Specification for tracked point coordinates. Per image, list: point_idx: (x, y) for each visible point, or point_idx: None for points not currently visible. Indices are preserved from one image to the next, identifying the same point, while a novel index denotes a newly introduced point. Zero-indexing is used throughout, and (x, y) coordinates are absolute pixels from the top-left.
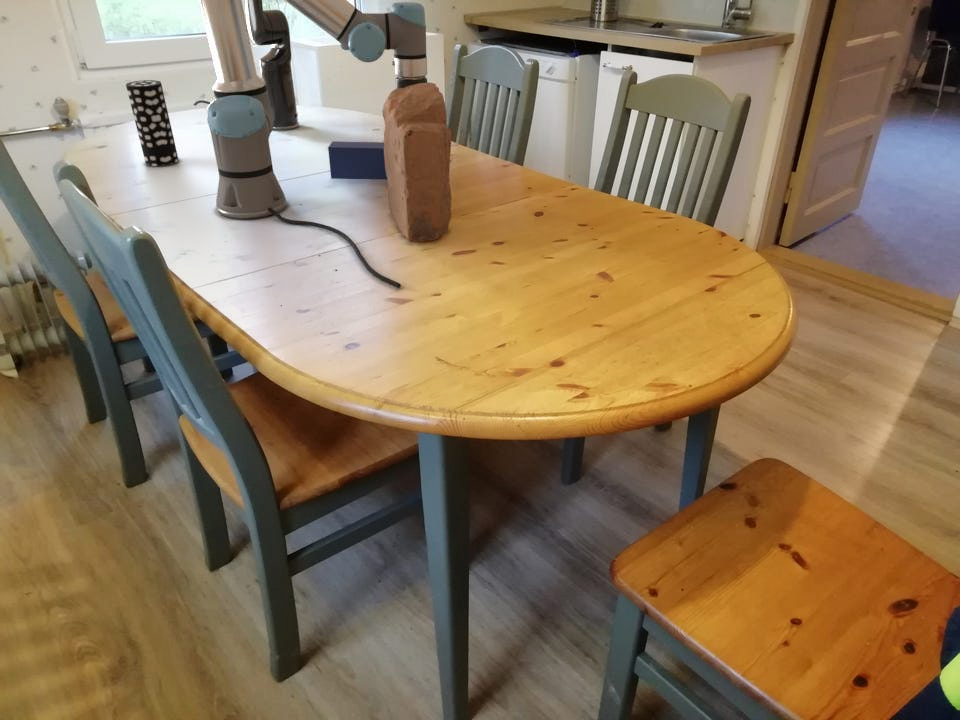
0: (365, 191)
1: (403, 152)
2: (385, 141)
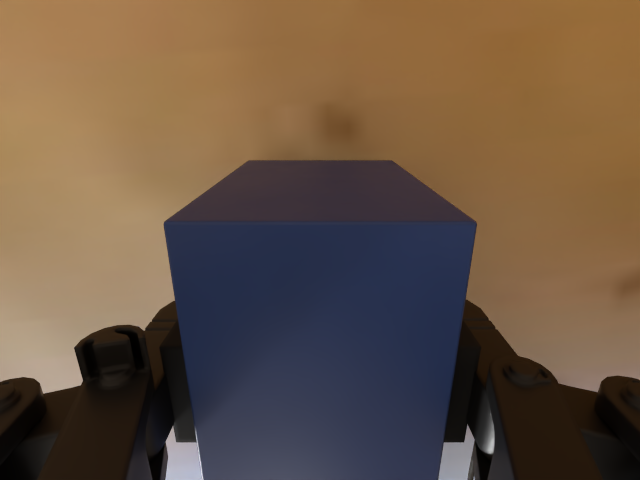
0: (463, 447)
1: None
2: None
